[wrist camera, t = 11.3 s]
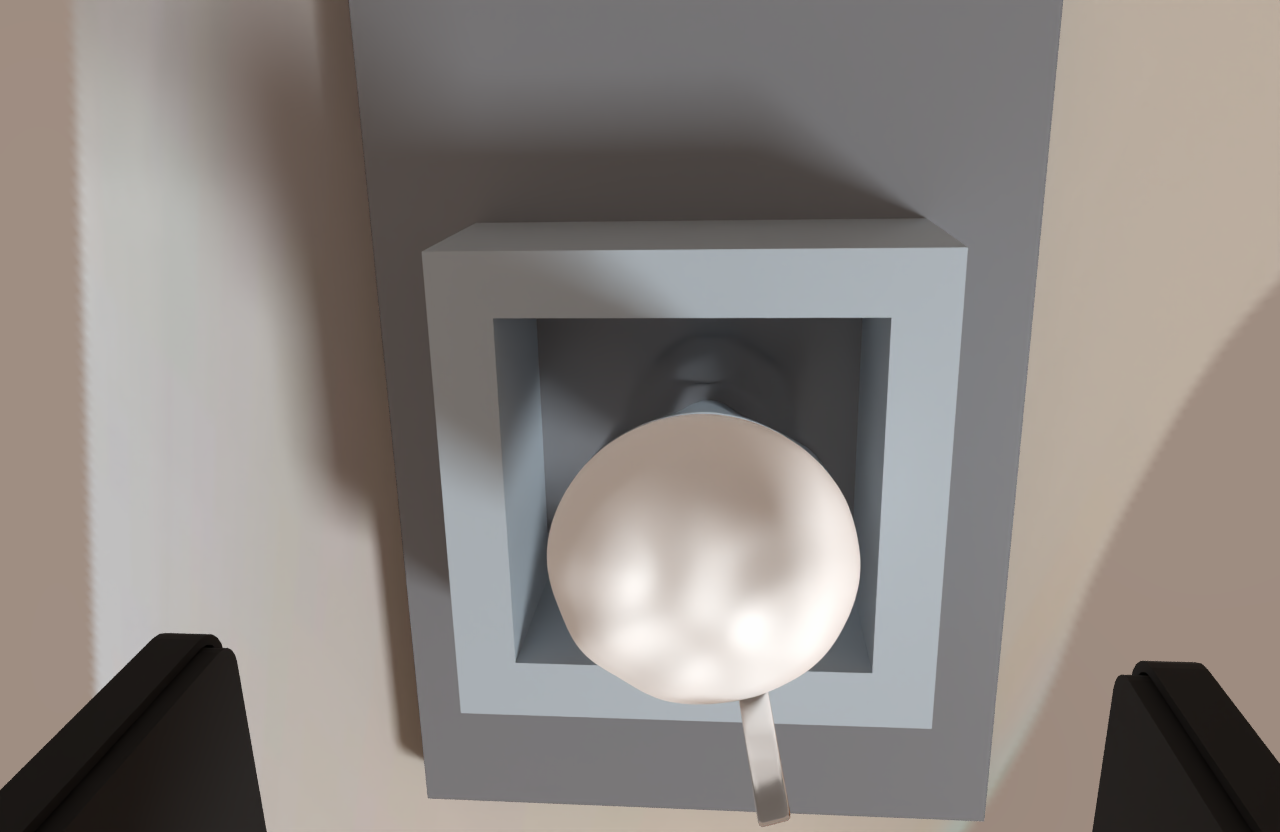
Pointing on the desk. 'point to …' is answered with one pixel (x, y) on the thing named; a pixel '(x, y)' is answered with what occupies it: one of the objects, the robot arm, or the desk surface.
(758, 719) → the milkshake
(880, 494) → the housing
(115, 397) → the desk surface
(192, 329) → the desk surface
